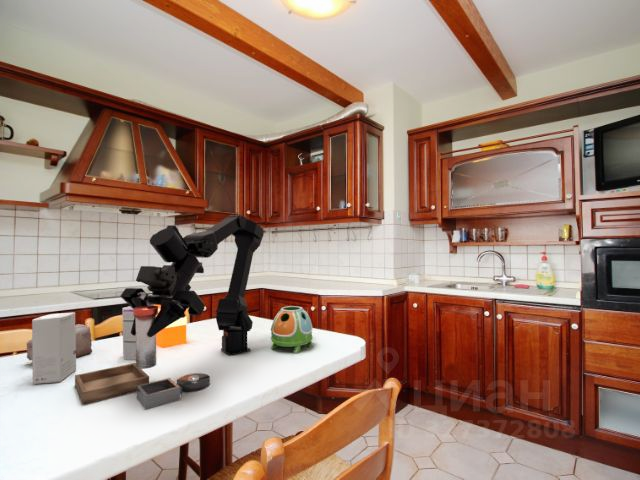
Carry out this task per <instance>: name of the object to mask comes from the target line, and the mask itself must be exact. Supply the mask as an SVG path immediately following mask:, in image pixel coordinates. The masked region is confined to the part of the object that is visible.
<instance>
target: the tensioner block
mask: <svg viewBox="0 0 640 480" xmlns="http://www.w3.org/2000/svg"><path fill="white" fill-rule="evenodd" d="M210 384H211V376H210V375H209V374H207V373H204V372H201V373H200V372H198V373H197V372H196V373H189V374H185V375H183V376H180V377H178V378H177V379H176V382H175V381H174V380H173V379H172V378H170V377H168V378H164V379H159V380H156V381H151V382H149V383H147V384H142V385H138V386H136V392H135V393H136V397H135V398H136V399H137V401H138V402H139V404H140V405H141V406H142V408H143V409H144V410H148V409H152V408H156V407H159V406H162V405H166V404H169V403H172V402H176V401H179V400H181V393H183V392H184V393H191V392H192V393H193V392H198V391H201V390H204V389H206V388H208V387H209V386H210Z"/></svg>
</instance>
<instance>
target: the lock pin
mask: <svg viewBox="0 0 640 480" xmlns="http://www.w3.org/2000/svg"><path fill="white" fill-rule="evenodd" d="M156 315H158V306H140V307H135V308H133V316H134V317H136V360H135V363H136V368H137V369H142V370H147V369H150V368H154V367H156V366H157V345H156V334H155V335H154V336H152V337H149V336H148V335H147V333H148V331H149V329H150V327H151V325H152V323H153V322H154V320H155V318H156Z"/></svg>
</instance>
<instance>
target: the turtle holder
mask: <svg viewBox="0 0 640 480" xmlns="http://www.w3.org/2000/svg"><path fill="white" fill-rule="evenodd" d="M270 332H271V333H270V335H271V337H270V340H271V342H272V345H271V346H270V349H271V350H274V349H277V348H278V346H280V347H284V348H285V347H286V348H288V347H294V349H293V352H292V353H294V354H297V353H298V354H299V353H300V351H301V346H305V345H307V347H308V348H309V347H313V345H314V344H313V342H312V340H313V335H312V333H313V323H312V320H311V318H310V316H309V312H308V311H306V310H305V309H304V308H303V307H302V306H297V305H296V306H295V305H293V306H292V305H289V306H284V307H281V308H280V310H279V311H278V312H277V314H276V315H275V317H274V319H273V320H272V323H271V327H270Z"/></svg>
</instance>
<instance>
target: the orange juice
mask: <svg viewBox="0 0 640 480" xmlns="http://www.w3.org/2000/svg"><path fill="white" fill-rule="evenodd" d="M154 306H158V313H159V311H160V308H161V305H154ZM184 314H185V315H186V316H185V317H184V318H180V319H179V320H177V321H175V322H174V323H172V324H170V325H169V326H167V327H166V328H164V329H163V330H161V331H160V332H158V333H157V334H156V347H159V348H161V349H165V348H171V347H175V346H180V345H184V344H187V310H186V311H185V313H184ZM156 317H157V315H156Z"/></svg>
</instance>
